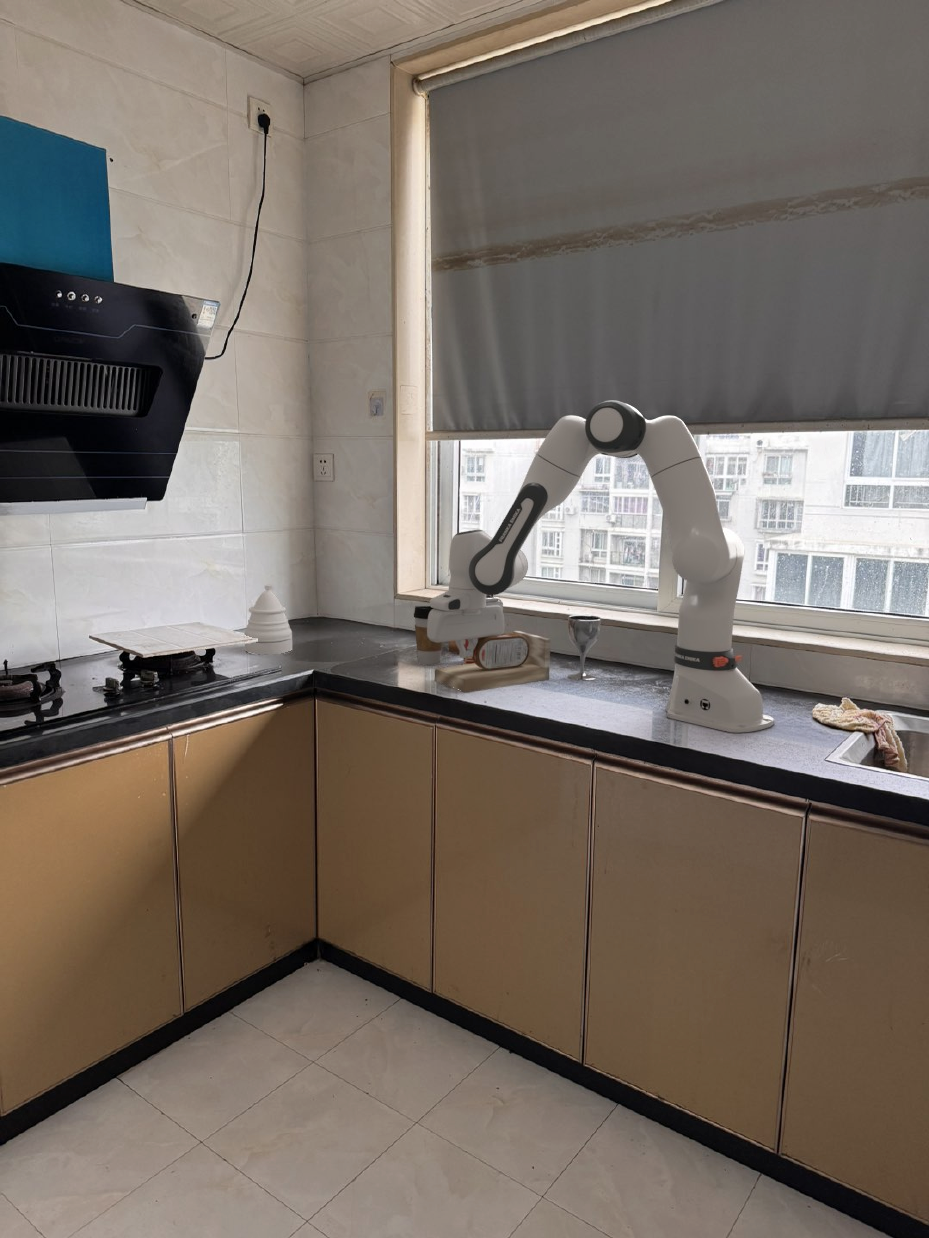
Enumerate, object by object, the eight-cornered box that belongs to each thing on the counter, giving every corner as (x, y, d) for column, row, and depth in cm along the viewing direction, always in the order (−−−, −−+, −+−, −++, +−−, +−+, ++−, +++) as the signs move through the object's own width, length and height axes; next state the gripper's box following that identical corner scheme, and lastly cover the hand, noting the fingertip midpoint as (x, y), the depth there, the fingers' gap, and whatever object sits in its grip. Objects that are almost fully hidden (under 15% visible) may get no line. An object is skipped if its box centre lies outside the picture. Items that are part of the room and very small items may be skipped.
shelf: (549, 679, 209) (550, 639, 207) (465, 692, 195) (465, 649, 193) (516, 668, 220) (517, 630, 218) (434, 680, 206) (434, 639, 204)
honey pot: (252, 645, 244) (250, 582, 241) (297, 646, 244) (296, 583, 241) (239, 654, 231) (237, 588, 228) (286, 655, 231) (285, 589, 228)
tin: (524, 664, 211) (525, 630, 210) (530, 667, 208) (532, 633, 207) (470, 669, 204) (471, 635, 202) (476, 672, 201) (477, 637, 200)
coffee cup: (406, 662, 225) (406, 605, 223) (431, 657, 231) (431, 603, 228) (426, 667, 219) (427, 610, 217) (451, 663, 225) (452, 607, 222)
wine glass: (597, 681, 207) (599, 620, 205) (564, 679, 209) (566, 619, 206) (598, 674, 215) (601, 615, 212) (567, 672, 216) (569, 614, 214)
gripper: (494, 594, 208) (493, 650, 210) (423, 600, 196) (423, 659, 199) (510, 598, 203) (509, 654, 205) (438, 604, 191) (438, 664, 193)
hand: (466, 657), depth 202 cm, fingers closed
